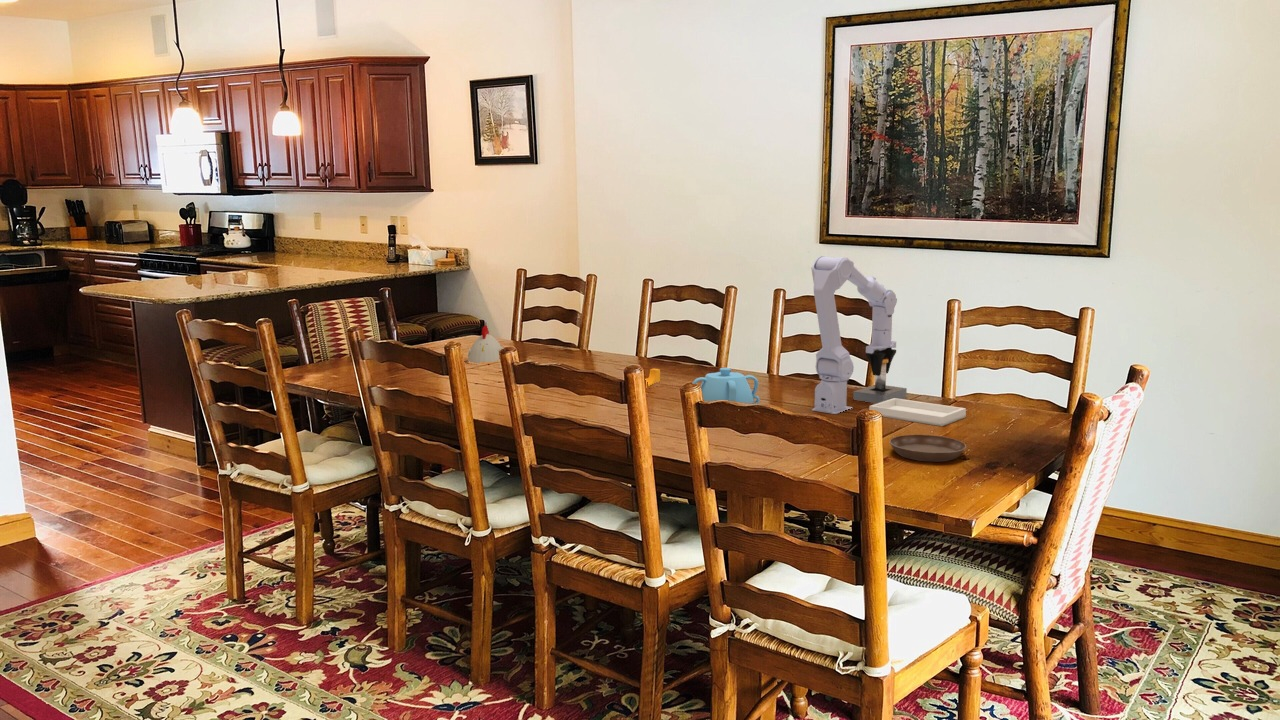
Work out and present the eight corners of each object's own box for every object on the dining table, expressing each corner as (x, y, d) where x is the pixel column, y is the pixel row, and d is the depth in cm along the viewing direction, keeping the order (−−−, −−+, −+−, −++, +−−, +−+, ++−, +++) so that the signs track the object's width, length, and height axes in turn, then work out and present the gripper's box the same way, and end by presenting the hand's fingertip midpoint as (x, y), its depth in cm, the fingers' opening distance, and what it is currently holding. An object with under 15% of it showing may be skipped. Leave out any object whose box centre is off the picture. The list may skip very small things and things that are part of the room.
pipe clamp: (649, 387, 325) (648, 367, 324) (660, 388, 323) (660, 369, 322) (627, 393, 315) (627, 373, 314) (639, 395, 313) (638, 375, 312)
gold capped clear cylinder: (883, 390, 297) (883, 360, 296) (869, 388, 300) (870, 358, 299) (890, 387, 300) (891, 358, 299) (877, 385, 303) (878, 356, 302)
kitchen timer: (464, 369, 362) (462, 328, 360) (472, 362, 376) (470, 323, 373) (502, 369, 361) (500, 328, 359) (508, 362, 375) (507, 323, 372)
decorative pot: (729, 424, 272) (730, 375, 270) (684, 416, 283) (684, 368, 280) (765, 414, 284) (765, 367, 281) (720, 406, 294) (721, 361, 292)
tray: (942, 426, 266) (942, 417, 266) (869, 414, 281) (869, 405, 281) (965, 417, 276) (965, 408, 276) (893, 406, 291) (894, 398, 291)
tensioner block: (882, 405, 292) (883, 395, 292) (853, 401, 299) (853, 391, 299) (906, 397, 303) (906, 388, 302) (876, 393, 309) (877, 384, 309)
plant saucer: (936, 442, 250) (936, 431, 250) (981, 460, 234) (982, 447, 233) (875, 449, 245) (875, 437, 244) (916, 468, 228) (917, 455, 228)
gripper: (881, 333, 289) (880, 379, 292) (905, 327, 300) (904, 372, 302) (860, 331, 294) (858, 376, 296) (884, 325, 305) (883, 369, 307)
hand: (880, 374), depth 300 cm, fingers closed on gold capped clear cylinder, 4 cm apart
